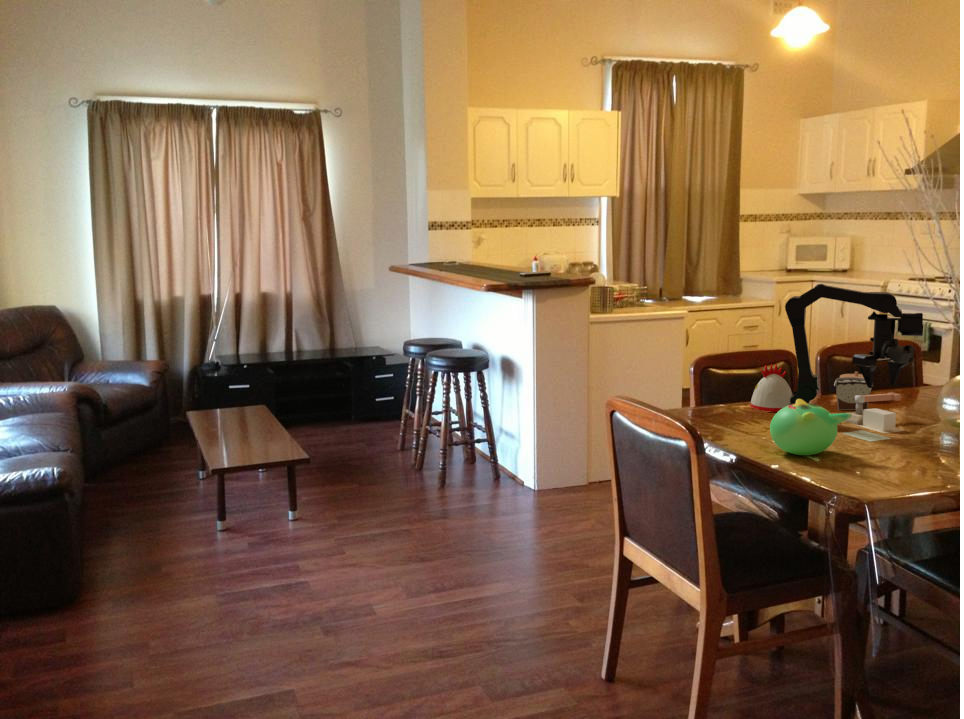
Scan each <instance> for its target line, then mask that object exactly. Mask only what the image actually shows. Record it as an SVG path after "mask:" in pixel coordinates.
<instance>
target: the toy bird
mask: <svg viewBox="0 0 964 719" xmlns="http://www.w3.org/2000/svg"><path fill="white" fill-rule="evenodd" d="M809 403H810V402H809ZM809 403H806V402H805V401H804V400H802V399H797V400H796V403H795V404H792V405H788V406H786V407H784V408H782V409H781V410H779V411H778V412H777V413H774V415H773V417H772V419H771V421H770V423H769V424H770V425H769V432H770V437H771V439H772V441H773V443H774V444H775V445H776V446H777V447H778V448H779V449H780V450H782V451H784V452H786V453H789V454H791V455H792V454H793V455H796V456H812V455H817V454H819V453H822V452H824V451H825V450H827V449H828V448H829V447H830V446H831V445H832V444H833V443H834V442H835V440H836V438H837V436H838V425H839V424H841V423H843V422H845V420H847V419H849V418H850V417H851V416H852V414H851V412H841V413H839V412H838V413H831V411H829V410H827V409H826V408H824V407H823V406H820V405H817V404H814V403H811V404H809Z"/></svg>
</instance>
